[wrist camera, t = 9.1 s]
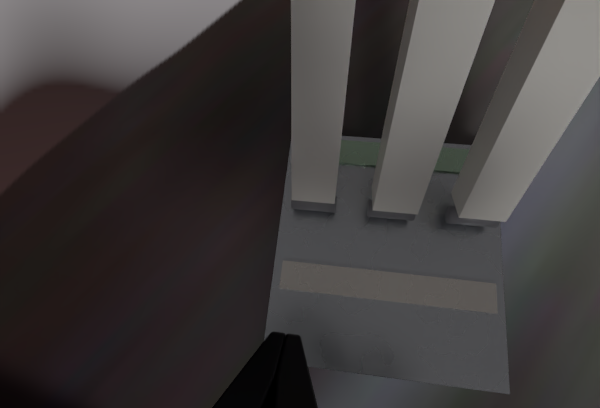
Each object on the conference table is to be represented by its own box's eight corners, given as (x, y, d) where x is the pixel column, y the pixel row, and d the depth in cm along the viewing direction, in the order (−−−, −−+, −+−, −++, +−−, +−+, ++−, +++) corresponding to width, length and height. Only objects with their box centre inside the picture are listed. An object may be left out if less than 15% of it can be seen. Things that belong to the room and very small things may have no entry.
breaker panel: (495, 386, 18) (512, 395, 17) (265, 355, 19) (260, 360, 18) (484, 156, 22) (497, 145, 20) (293, 142, 23) (291, 130, 22)
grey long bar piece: (413, 231, 18) (530, -87, 9) (367, 227, 19) (435, -87, 9) (409, 205, 20) (506, -90, 11) (366, 201, 20) (424, -91, 11)
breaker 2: (497, 238, 18) (709, -86, 9) (449, 234, 18) (604, -87, 9) (487, 212, 19) (658, -89, 10) (442, 208, 20) (569, -90, 10)
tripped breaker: (334, 222, 19) (368, -92, 10) (289, 218, 19) (287, -94, 11) (336, 200, 20) (366, -88, 12) (294, 196, 21) (296, -89, 12)
